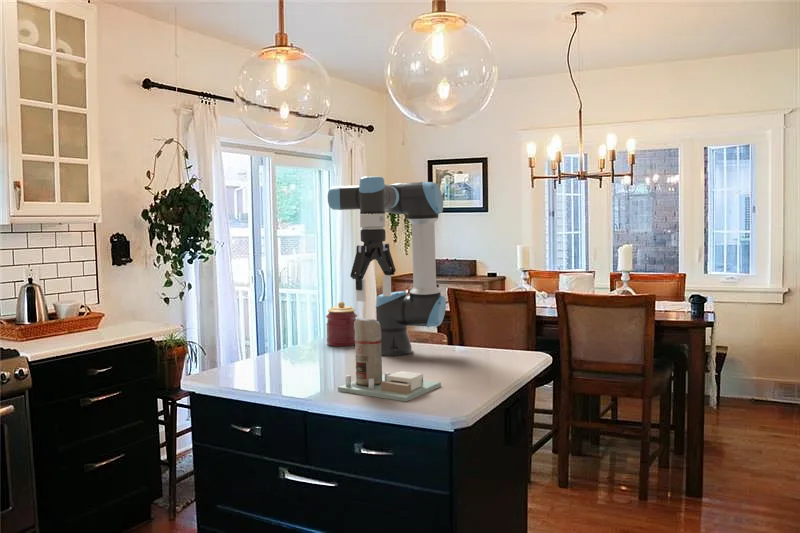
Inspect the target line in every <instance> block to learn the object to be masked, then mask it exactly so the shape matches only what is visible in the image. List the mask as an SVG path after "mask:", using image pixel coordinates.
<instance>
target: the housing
mask: <svg viewBox="0 0 800 533" xmlns="http://www.w3.org/2000/svg"><path fill="white" fill-rule="evenodd" d="M423 380H424V374H423V373H419V372H411V371H403V370H400V371H397V372H394V373H390V375H388V381H390V382H397V383H398V381H400V382H403V383H404V384H411V391H412V390H414V389H416V388H419V387H421V386H423Z"/></svg>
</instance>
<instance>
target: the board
mask: <svg viewBox="0 0 800 533" xmlns="http://www.w3.org/2000/svg"><path fill="white" fill-rule="evenodd" d="M388 375H391V373H390V372H384V374H383V373H382V382H381V383H380V384H375V385H374V379H373V378H370V379H369V385H361V384H356V383H355V382H356V380H354V381H352V376H351V374H348V375H347V374H346V375H345V383H344V384H343V385H339V386H337V391H338V392H343V393H348V392H349V393H350V394H354V393H355V394H356V395H362V396H367V397H368V396H369V397H375V398H381V399H387V400H393V401H399V402H405V403H406V402H409V401H411V400H414V399H415V398H417V397H420V396H422V395H425V394H427V393H428V392H431V391H433V390H435V389H437V388H440V387H442V382H441V381H435V380H434V381H433V380H427V379H423V386H421V387H419V388H416V389H414V390H412V391H411V384H404V383H403V382H400V381H398V383H397V382H390V381H388ZM355 394H354V395H355Z"/></svg>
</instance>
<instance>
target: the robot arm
mask: <svg viewBox="0 0 800 533" xmlns="http://www.w3.org/2000/svg"><path fill="white" fill-rule="evenodd" d="M442 193H443V192H442V190H441V188H440V186H439V185H438V184H437V182H433V181H419V182H417V181H416V182H397V183H392V184H386V183H385V178H384V177H383V176H362V177H361V178H360V179H359V185H345V186H344V185H338V186H332V187H330V188H329V189H328V193H327V204H328V206H329V208H330V209H331V210H334V211H337V210H338V211H347V210H359V226H360V232H359V233H360V241H361V242H362V243H363V244H362V245H360V244H359V245H356V251H355V252H356V253H355V257H354V260H353V264H352V268H351V272H350V278H351V279H352V280H355V290H356V291H355V292H356V293H355V294H356V302H366V299H367V298H366V279H365V278H364V277H365V275H366V272H367V270H368V268H369V265H370V264H371V262H373V261H374V260H376V261H377V264H378V265H379V267H380V268H381V271H382V273H383V274H382V275H381V278H382V279H381V280H382V294H378V296H377V297H376V301H375V303H376V304H375V313H376V319H375V320H377V321H378V322H379V323H380V327H381V344H382V345H381V355H382V356H387V357H389V356H392V357H393V356H394V357H395V356H403V355H404V356H405V355H409V354H411V353H412V351H413V350H412V349H413V348H412V344H411V341H410V338H409V334H408V330H407V329H408V328H407V327H427V328H431V327H433V328H434V327H439V326H440V325H441V324H442V322H443V320H444V317H445V314H446V310H447V309H446V308H447V307H446V306H447V301H446V297H445V296H444V295H441V294H442V293H441V290H440V288H439V287H437V271H436V267H437V266H436V265H437V264H436V262H437V261H436V236H435V234H436V228H435V226H436V225H435V224H436V221H438V219H439V214H440V215H441V214H442V213H443V211H444V198H443V194H442ZM386 213H390V214H395V215H406V219H407V221H408V222H409V223H410V224H411V247H412V248H411V250H412V251H411V252H412V277H413V278H412V280H413V282H412V283H413V284H412V285H413V287H412V288H411V289H410V290H409V294H407V291H403V290H399V291H393V292H392V276H394V275H395V273H396V271H397V270H396V267H395V264H394V259H393V257H392V253H391V251H390V243H384V242H386V239H387V238H386V229H385V227H386ZM361 228H362V229H361Z"/></svg>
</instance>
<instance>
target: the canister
mask: <svg viewBox="0 0 800 533" xmlns="http://www.w3.org/2000/svg"><path fill="white" fill-rule="evenodd" d="M355 311H356V309H355V308H354V307H352V306H349V305H345V303H344V302H343V301H340V302H338V304H337V306H336V305H335V306H332V307H331V308H329V309H328V310H327V312H328V313H327V315H326V316H325V318H326V320H327V322H326V324H325V325H326V339H325V340H326V343H327V344H326V345H328V346H330V347H331V346H332V347H349V346H354V345H355V329H354V322H355V320H356V319H357V318H358V314H357V313H355Z"/></svg>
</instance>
